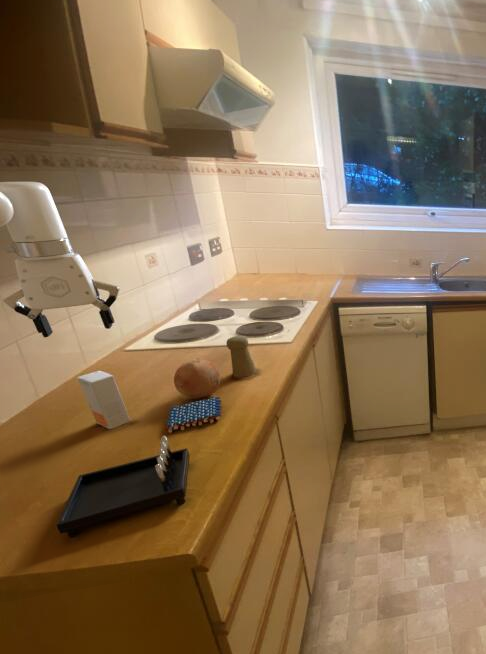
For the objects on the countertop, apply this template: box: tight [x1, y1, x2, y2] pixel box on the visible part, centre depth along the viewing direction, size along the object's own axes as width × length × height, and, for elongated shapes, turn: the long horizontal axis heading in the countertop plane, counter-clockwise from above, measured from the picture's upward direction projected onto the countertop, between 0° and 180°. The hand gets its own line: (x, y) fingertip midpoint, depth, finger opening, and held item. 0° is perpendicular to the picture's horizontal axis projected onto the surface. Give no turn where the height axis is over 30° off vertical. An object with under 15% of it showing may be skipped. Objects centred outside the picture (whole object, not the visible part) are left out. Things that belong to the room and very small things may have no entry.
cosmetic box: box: [76, 370, 131, 430], centre depth 98 cm, size 6×4×12 cm
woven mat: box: [165, 396, 222, 434], centre depth 102 cm, size 10×11×2 cm
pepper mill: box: [226, 335, 258, 379], centre depth 123 cm, size 6×6×11 cm
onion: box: [173, 358, 221, 400], centre depth 110 cm, size 10×10×10 cm
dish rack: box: [55, 435, 190, 538], centre depth 76 cm, size 16×14×8 cm
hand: (79, 331), depth 92 cm, fingers open, 9 cm apart
